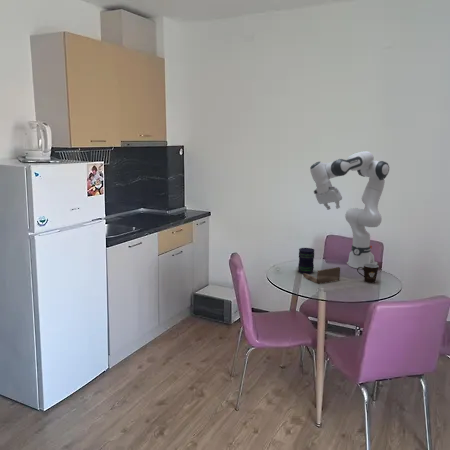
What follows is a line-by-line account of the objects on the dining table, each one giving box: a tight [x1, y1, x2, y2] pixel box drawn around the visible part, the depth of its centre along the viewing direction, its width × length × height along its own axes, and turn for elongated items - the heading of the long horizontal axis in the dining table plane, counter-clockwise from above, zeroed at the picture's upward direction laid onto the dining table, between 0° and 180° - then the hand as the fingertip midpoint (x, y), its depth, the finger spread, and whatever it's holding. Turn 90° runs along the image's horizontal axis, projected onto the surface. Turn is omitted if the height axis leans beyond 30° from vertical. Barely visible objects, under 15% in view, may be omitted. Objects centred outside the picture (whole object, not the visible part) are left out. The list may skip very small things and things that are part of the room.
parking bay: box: [303, 266, 341, 285], centre depth 275 cm, size 14×16×8 cm
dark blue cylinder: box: [297, 247, 315, 275], centre depth 288 cm, size 10×10×15 cm
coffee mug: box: [356, 264, 380, 284], centre depth 271 cm, size 12×9×10 cm
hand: (333, 208), depth 273 cm, fingers open, 8 cm apart
